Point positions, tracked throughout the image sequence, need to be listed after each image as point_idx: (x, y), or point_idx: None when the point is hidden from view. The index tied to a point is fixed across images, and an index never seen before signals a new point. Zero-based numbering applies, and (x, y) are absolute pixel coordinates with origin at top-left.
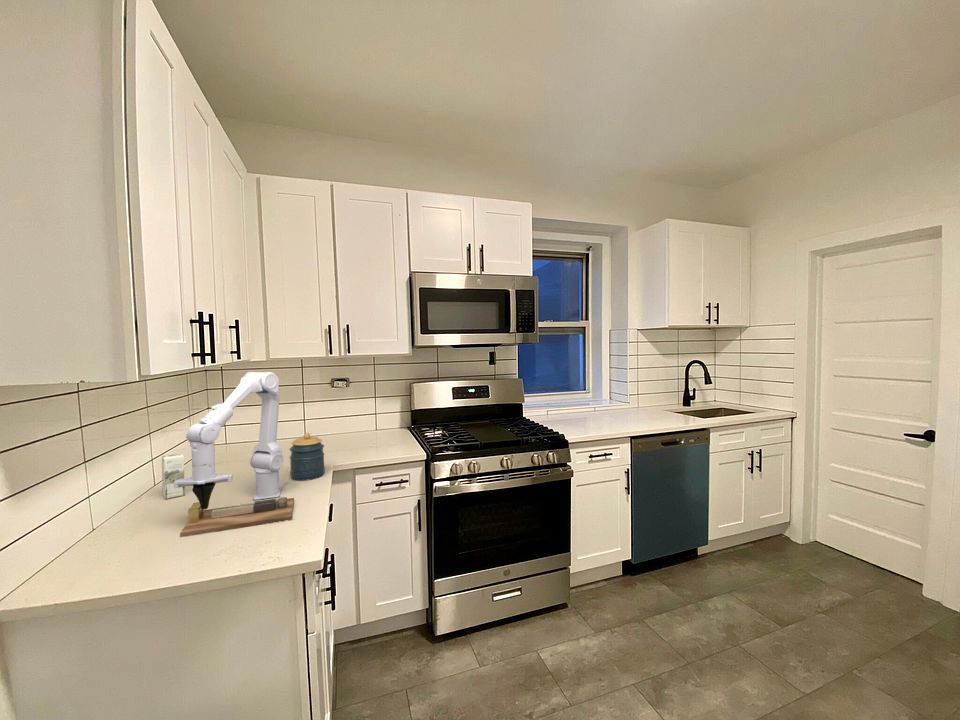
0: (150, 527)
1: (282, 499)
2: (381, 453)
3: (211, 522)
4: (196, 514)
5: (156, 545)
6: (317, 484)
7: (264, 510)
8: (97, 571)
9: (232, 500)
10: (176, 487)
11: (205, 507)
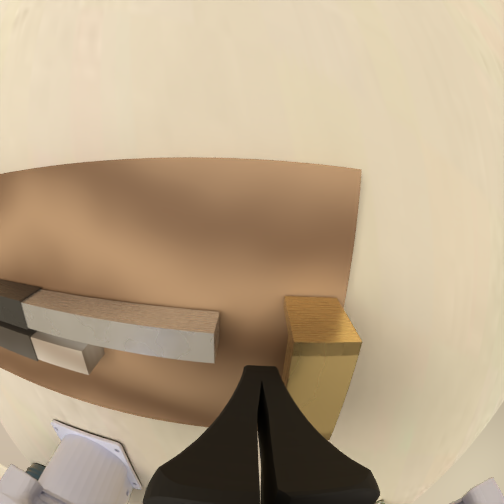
0: (452, 351)
1: None
2: (3, 474)
3: (209, 255)
4: (302, 319)
5: (428, 126)
6: (12, 431)
7: (9, 282)
8: (500, 37)
9: None
10: (484, 486)
11: (251, 370)
